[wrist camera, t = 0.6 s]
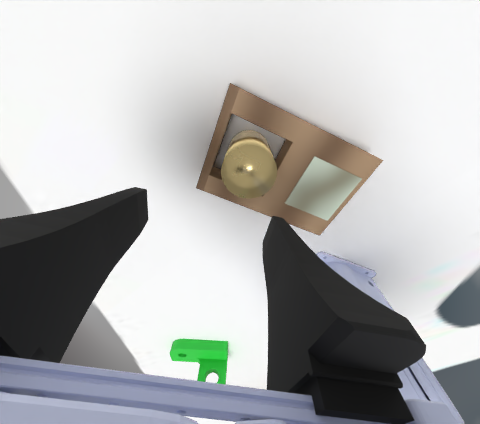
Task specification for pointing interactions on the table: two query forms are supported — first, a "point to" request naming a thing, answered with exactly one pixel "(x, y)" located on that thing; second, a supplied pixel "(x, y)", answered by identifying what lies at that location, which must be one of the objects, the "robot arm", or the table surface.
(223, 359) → the mechanical part
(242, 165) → the cylinder
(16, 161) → the table surface
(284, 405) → the robot arm
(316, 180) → the pocket board
